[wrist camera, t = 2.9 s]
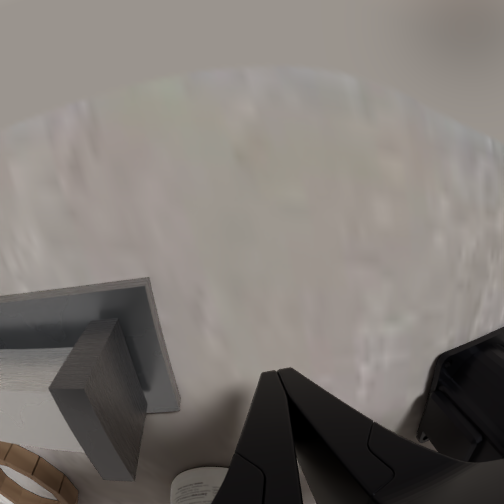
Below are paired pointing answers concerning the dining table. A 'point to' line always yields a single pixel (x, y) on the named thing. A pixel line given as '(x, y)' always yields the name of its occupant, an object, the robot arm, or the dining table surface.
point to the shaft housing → (88, 309)
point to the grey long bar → (76, 399)
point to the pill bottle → (197, 485)
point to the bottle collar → (33, 477)
